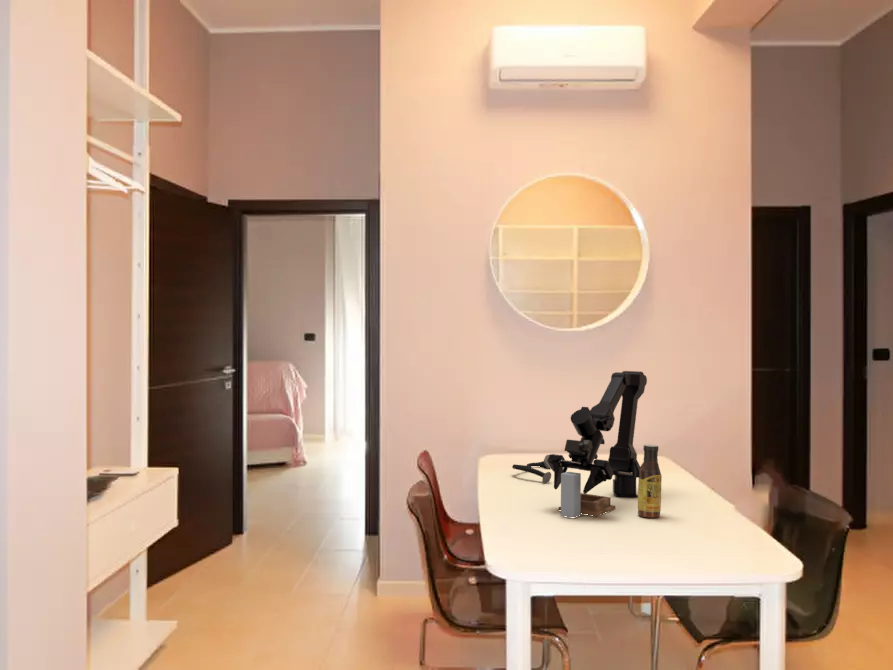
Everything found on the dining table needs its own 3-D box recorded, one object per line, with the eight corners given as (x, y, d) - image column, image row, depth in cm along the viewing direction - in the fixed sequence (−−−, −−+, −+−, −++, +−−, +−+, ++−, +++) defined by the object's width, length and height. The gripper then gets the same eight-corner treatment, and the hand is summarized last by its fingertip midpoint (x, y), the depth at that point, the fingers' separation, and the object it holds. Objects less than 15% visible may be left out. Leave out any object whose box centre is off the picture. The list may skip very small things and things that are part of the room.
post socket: (578, 503, 233) (578, 491, 233) (615, 509, 226) (615, 497, 226) (558, 510, 224) (558, 498, 224) (596, 517, 216) (596, 504, 216)
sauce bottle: (648, 519, 213) (648, 447, 213) (632, 515, 219) (633, 444, 219) (666, 517, 216) (666, 446, 216) (650, 512, 222) (650, 443, 222)
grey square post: (567, 514, 220) (568, 471, 220) (580, 516, 218) (580, 473, 217) (560, 516, 217) (560, 473, 217) (573, 518, 214) (573, 475, 214)
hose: (550, 485, 261) (550, 468, 261) (508, 483, 264) (508, 467, 264) (554, 468, 295) (554, 453, 295) (517, 467, 297) (517, 452, 297)
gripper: (550, 426, 226) (530, 469, 218) (609, 431, 215) (590, 477, 206) (563, 450, 233) (544, 492, 224) (621, 456, 221) (603, 501, 212)
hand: (569, 490), depth 217 cm, fingers open, 9 cm apart
